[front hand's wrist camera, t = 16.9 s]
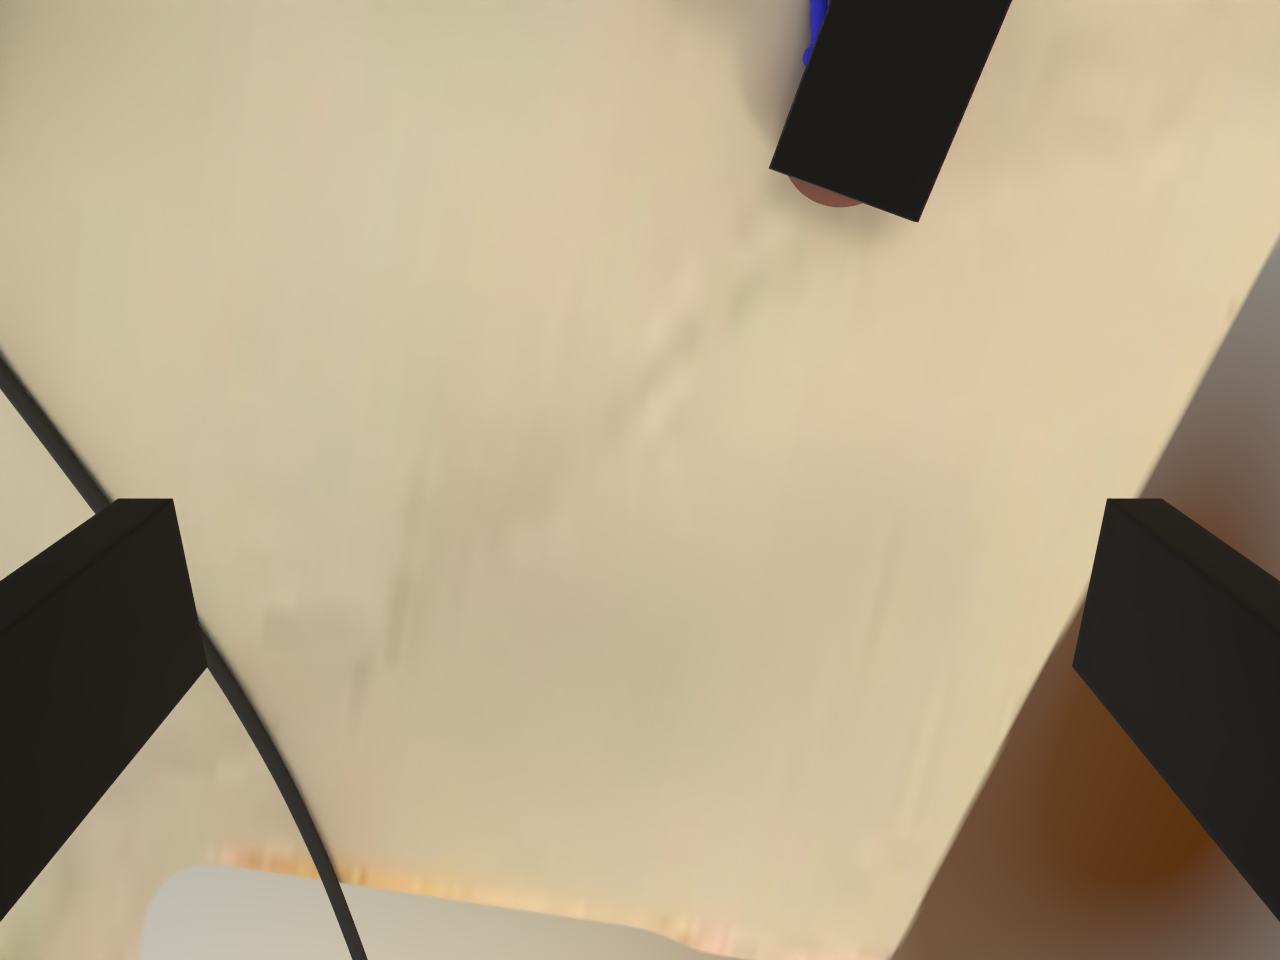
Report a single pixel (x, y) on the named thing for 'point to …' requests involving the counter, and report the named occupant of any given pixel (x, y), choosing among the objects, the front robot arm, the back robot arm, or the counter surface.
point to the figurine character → (883, 98)
